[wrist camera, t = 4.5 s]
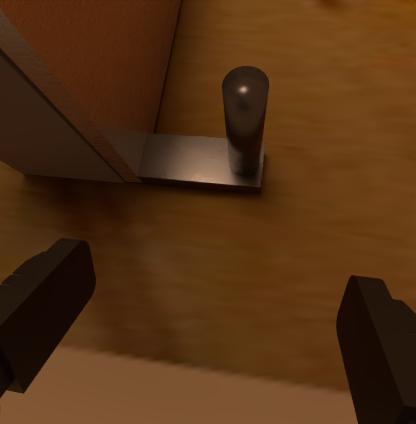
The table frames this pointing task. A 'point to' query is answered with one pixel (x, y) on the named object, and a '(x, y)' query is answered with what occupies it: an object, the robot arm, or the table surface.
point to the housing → (43, 133)
